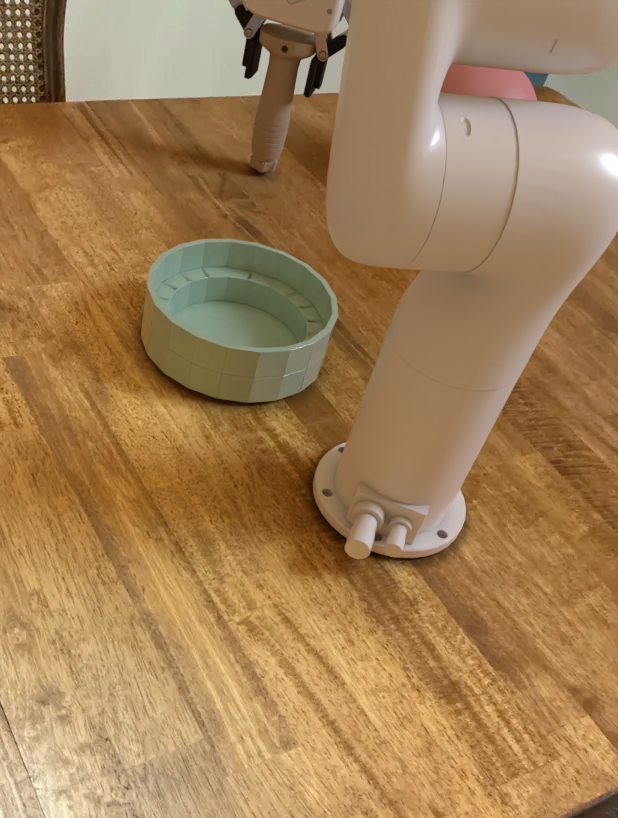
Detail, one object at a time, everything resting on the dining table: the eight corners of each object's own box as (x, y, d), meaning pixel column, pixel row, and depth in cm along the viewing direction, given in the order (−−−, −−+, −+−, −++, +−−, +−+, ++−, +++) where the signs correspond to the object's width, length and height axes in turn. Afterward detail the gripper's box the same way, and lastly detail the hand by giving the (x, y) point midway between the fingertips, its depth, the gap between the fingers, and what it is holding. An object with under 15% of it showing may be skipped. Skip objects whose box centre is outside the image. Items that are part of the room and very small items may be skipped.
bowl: (293, 430, 76) (310, 376, 72) (111, 365, 78) (116, 308, 73) (340, 328, 87) (356, 275, 83) (179, 273, 89) (187, 219, 85)
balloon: (536, 243, 106) (597, 114, 94) (378, 191, 108) (420, 59, 96) (547, 190, 116) (604, 68, 104) (402, 144, 118) (443, 19, 107)
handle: (284, 183, 104) (315, 48, 93) (232, 169, 105) (257, 33, 93) (291, 166, 108) (321, 34, 96) (241, 152, 108) (265, 19, 97)
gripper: (223, -124, 84) (197, 72, 97) (396, -75, 82) (345, 118, 95) (247, -137, 89) (219, 51, 102) (411, -91, 87) (360, 95, 100)
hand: (280, 82), depth 99 cm, fingers closed on handle, 6 cm apart
